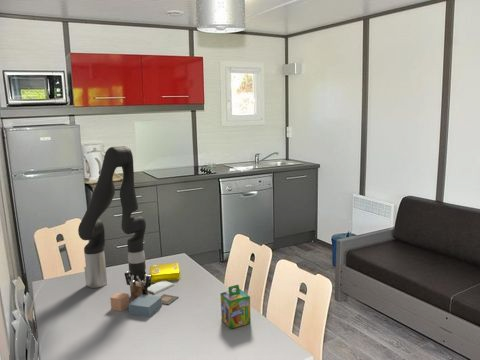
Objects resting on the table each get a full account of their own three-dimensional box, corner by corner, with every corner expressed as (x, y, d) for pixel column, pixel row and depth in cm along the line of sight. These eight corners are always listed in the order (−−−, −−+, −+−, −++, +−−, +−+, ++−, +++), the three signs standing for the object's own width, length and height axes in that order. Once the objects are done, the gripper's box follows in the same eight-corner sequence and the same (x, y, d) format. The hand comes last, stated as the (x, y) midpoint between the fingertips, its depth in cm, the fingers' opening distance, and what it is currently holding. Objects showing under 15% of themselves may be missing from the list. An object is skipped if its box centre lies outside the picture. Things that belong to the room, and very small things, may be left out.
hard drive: (154, 292, 194) (173, 283, 203) (142, 288, 199) (162, 279, 209) (154, 295, 194) (174, 286, 204) (143, 291, 199) (162, 282, 209)
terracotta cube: (111, 309, 181) (110, 297, 180) (119, 303, 186) (118, 292, 185) (121, 311, 179) (120, 299, 178) (129, 305, 184) (128, 294, 183)
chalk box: (230, 329, 160) (229, 293, 158) (220, 319, 168) (219, 285, 166) (251, 323, 164) (250, 288, 162) (241, 314, 172) (239, 280, 170)
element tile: (180, 280, 211) (179, 271, 210) (150, 283, 208) (149, 274, 207) (178, 269, 225) (178, 261, 224) (150, 272, 222) (149, 264, 221)
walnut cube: (131, 297, 191) (130, 286, 191) (138, 292, 196) (137, 281, 195) (140, 299, 189) (139, 288, 188) (148, 294, 194) (147, 283, 193)
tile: (153, 302, 186) (153, 301, 186) (163, 294, 193) (163, 293, 193) (168, 305, 183) (168, 304, 183) (178, 297, 190) (178, 296, 190)
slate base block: (129, 314, 176) (128, 304, 176) (142, 303, 186) (141, 294, 185) (149, 317, 173) (148, 307, 172) (162, 306, 182) (161, 297, 181)
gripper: (118, 260, 189) (121, 295, 192) (144, 264, 184) (147, 300, 186) (129, 255, 196) (132, 289, 199) (154, 258, 190) (157, 293, 193)
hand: (139, 294), depth 193 cm, fingers closed on walnut cube, 5 cm apart
